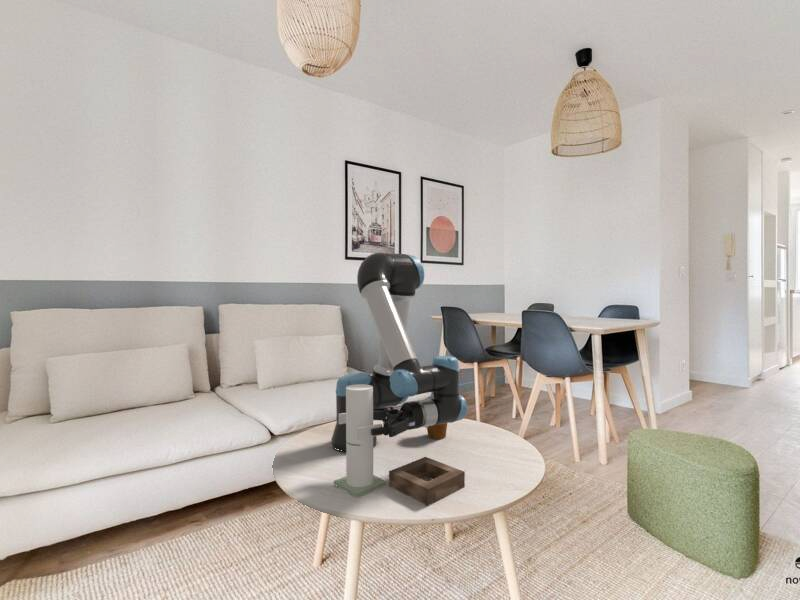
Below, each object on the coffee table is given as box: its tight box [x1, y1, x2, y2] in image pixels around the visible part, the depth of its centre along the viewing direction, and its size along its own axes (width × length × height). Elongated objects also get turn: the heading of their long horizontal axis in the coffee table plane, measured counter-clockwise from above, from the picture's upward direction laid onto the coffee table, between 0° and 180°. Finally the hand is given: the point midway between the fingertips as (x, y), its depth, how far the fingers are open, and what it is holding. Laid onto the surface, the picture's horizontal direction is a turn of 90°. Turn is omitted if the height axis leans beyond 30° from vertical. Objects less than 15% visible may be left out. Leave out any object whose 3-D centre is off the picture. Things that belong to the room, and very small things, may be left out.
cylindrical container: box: [345, 384, 374, 487], centre depth 111 cm, size 7×7×25 cm
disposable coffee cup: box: [426, 423, 448, 440], centre depth 149 cm, size 10×10×12 cm
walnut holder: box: [388, 456, 466, 506], centre depth 110 cm, size 14×14×4 cm
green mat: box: [333, 474, 387, 498], centre depth 112 cm, size 10×10×1 cm
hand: (347, 425), depth 110 cm, fingers open, 13 cm apart
